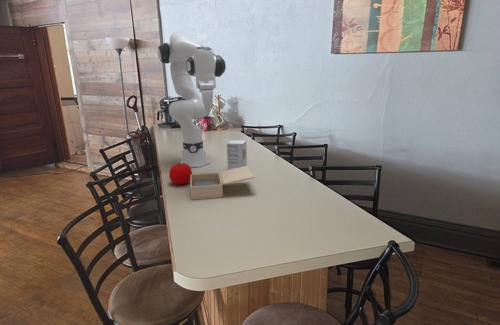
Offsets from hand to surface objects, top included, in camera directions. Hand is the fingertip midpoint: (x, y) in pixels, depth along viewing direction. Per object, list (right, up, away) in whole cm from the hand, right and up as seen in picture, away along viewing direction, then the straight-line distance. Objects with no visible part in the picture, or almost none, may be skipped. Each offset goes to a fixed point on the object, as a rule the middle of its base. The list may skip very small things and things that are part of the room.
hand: (207, 114), depth 150 cm
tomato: (-15, -33, +14) cm, 39 cm away
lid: (+13, -28, +2) cm, 31 cm away
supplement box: (+13, -27, +32) cm, 44 cm away
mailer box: (-1, -36, +2) cm, 36 cm away
